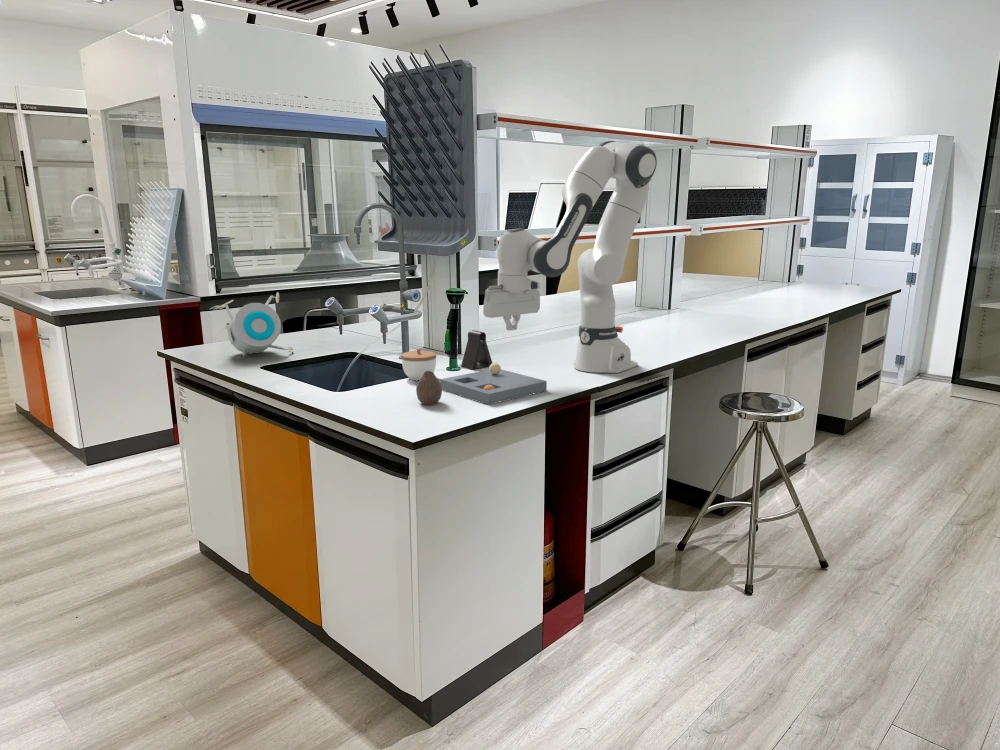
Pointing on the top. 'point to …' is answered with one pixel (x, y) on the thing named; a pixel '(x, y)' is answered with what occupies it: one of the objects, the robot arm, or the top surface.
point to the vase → (429, 389)
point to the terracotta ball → (488, 387)
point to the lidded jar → (418, 363)
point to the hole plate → (503, 383)
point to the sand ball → (494, 368)
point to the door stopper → (476, 351)
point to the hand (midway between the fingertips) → (511, 329)
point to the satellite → (254, 327)
